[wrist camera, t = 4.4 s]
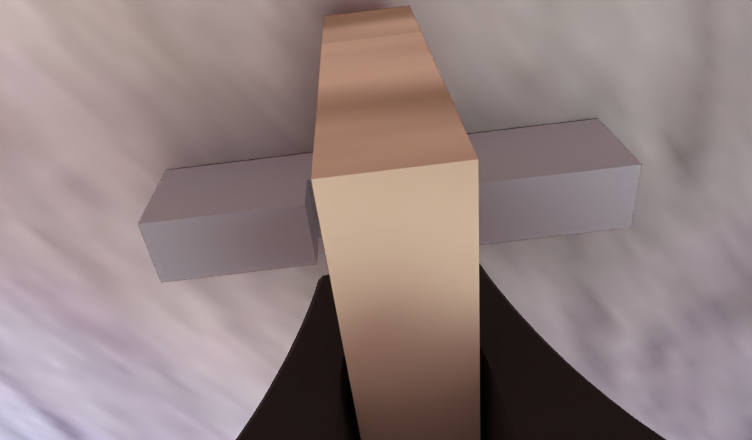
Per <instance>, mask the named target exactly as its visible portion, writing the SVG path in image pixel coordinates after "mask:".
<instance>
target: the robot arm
mask: <svg viewBox="0 0 752 440" xmlns="http://www.w3.org/2000/svg"><path fill="white" fill-rule="evenodd" d="M479 323H480V440H666V439H664V438H663V437H661V436H660V435H658V434H657V433H655V432H654V431H652V430H651V429H650V428H648V427H647V426H645V425H644V424H642V423H641V422H639V421H638V420H637V419H635V418H634V417H633V416H631V415H630V414H629V413H627V412H626V411H625V410H623V409H622V408H621V407H620V406H618V405H617V404H616V403H614V402H613V401H612V400H611V399H609V398H608V397H607V396H606V395H604V394H603V393H602V392H601V391H600V390H598V389H597V388H596V387H595V386H594V385H592V384H591V383H590V382H589V381H588V380H586V379H585V378H584V377H583V376H582V375H581V374H580V373H578V372H577V371H576V370H575V369H574V368H573V367H572V366H571V365H570V364H568V363H567V362H566V361H565V360H564V359H563V358H562V357H561V356H560V355H559V354H558V353H557V352H556V351H555V350H554V349H553V348H552V347H551V346H550V345H549V344H548V343H547V342H546V341H545V340H544V339H543V338H542V337H541V336H540V335H539V334H538V333H537V332H536V331H535V330H534V329H533V328H532V327H531V326H530V325H529V323H528V322H527V321H526V320H525V319H524V318H523V317H522V316H521V315H520V314H519V313H518V311H517V310H516V309H515V308H514V307H513V306H512V305H511V303H510V302H509V301H508V300H507V299H506V297H505V296H504V295H503V294H502V293H501V291H500V290H499V289H498V288H497V286H496V285H495V284H494V283H493V281H492V280H491V279H490V277H489V276H488V275H487V273H486V272H485V271H484V269H483V268H482V266H481V265H480V263H479ZM236 440H361V437H360V432H359V427H358V421H357V416H356V411H355V406H354V401H353V395H352V390H351V385H350V380H349V374H348V369H347V364H346V359H345V354H344V348H343V343H342V338H341V333H340V327H339V322H338V317H337V312H336V307H335V301H334V296H333V291H332V286H331V280H330V275H326V276H322V277H321V278H320V279H319V281H318V283H317V286H316V290H315V293H314V296H313V298H312V301H311V304H310V306H309V309H308V311H307V314H306V316H305V318H304V321H303V323H302V325H301V328H300V330H299V332H298V334H297V336H296V338H295V340H294V342H293V344H292V347H291V349H290V351H289V353H288V355H287V357H286V359H285V361H284V362H283V364H282V366H281V368H280V370H279V371H278V373H277V375H276V377H275V379H274V380H273V382H272V384H271V386H270V388H269V389H268V391H267V393H266V394H265V396H264V398H263V399H262V401H261V403H260V404H259V406H258V407H257V409H256V411H255V412H254V414H253V415H252V417H251V418H250V420H249V421H248V423H247V424H246V426H245V427H244V429H243V430H242V432H241V433H240V435H239V436H238V437H237V439H236Z"/></svg>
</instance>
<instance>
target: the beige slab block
mask: <svg viewBox="0 0 752 440" xmlns="http://www.w3.org/2000/svg"><path fill="white" fill-rule="evenodd" d="M311 181H312V186H313V192H314V197H315V202H316V207H317V212H318V218H319V223H320V228H321V233H322V239H323V244H324V249H325V254H326V259H327V265H328V270H329V275H330V280H331V286H332V291H333V296H334V301H335V307H336V312H337V317H338V322H339V327H340V333H341V338H342V343H343V348H344V354H345V359H346V364H347V369H348V374H349V380H350V385H351V390H352V395H353V401H354V406H355V411H356V416H357V421H358V427H359V432H360V437H361V440H480V323H479V181H478V157H477V155H476V153H475V151H474V149H473V146H472V144H471V142H470V140H469V137H468V135H467V133H466V131H465V128H464V126H463V124H462V122H461V120H460V117H459V115H458V113H457V111H456V108H455V106H454V104H453V102H452V99H451V97H450V95H449V93H448V91H447V88H446V86H445V84H444V82H443V79H442V77H441V75H440V73H439V70H438V68H437V66H436V64H435V62H434V59H433V57H432V55H431V53H430V50H429V48H428V46H427V44H426V41H425V39H424V37H423V35H422V33H421V30H420V28H419V26H418V24H417V21H416V19H415V17H414V15H413V13H412V10H411V8H410V6H402V7H394V8H386V9H378V10H370V11H362V12H353V13H345V14H337V15H329V16H324V20H323V33H322V46H321V59H320V72H319V85H318V98H317V111H316V123H315V136H314V149H313V162H312V175H311Z"/></svg>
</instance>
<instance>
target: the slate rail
mask: <svg viewBox="0 0 752 440" xmlns="http://www.w3.org/2000/svg"><path fill="white" fill-rule="evenodd" d="M467 135H468V137H469V140H470V142H471V144H472V146H473V149H474V151H475V153H476V155H477V157H478V181H479V245H484V244H493V243H501V242H510V241H518V240H527V239H536V238H544V237H553V236H561V235H570V234H578V233H587V232H595V231H604V230H612V229H621V228H629V227H631V225H632V219H633V213H634V207H635V201H636V196H637V190H638V184H639V178H640V172H641V166H642V164H641V163H640V162H639V161H638V160H637V159H636V158H635V157H634V156H633V155H632V154H631V152H630V151H629V150H628V149H627V148H626V147H625V146H624V145H623V144H622V143H621V142H620V141H619V140H618V139H617V138H616V137H615V136H614V135H613V133H612V132H611V131H610V130H609V129H608V128H607V127H606V126H605V125H604V124H603V123H602V122H601V121H600V120H599V119H590V120H582V121H574V122H565V123H557V124H548V125H540V126H532V127H523V128H515V129H507V130H498V131H490V132H482V133H473V134H467ZM312 162H313V153H306V154H298V155H289V156H281V157H272V158H264V159H256V160H247V161H239V162H231V163H222V164H214V165H206V166H197V167H189V168H180V169H172V170H166V171H165V173H164V175H163V177H162V179H161V181H160V183H159V185H158V187H157V189H156V190H155V192H154V194H153V196H152V198H151V200H150V202H149V204H148V206H147V208H146V209H145V211H144V213H143V215H142V217H141V219H140V221H139V223H138V226H139V229H140V231H141V234H142V236H143V239H144V241H145V243H146V246H147V248H148V251H149V253H150V256H151V258H152V261H153V263H154V266H155V268H156V271H157V273H158V276H159V278H160V281H161V282H169V281H178V280H186V279H195V278H203V277H212V276H220V275H229V274H237V273H246V272H254V271H263V270H271V269H280V268H289V267H297V266H306V265H314V264H317V252H318V237H322V233H321V228H320V223H319V218H318V212H317V207H316V202H315V197H314V192H313V186H312V181H311V175H312Z"/></svg>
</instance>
